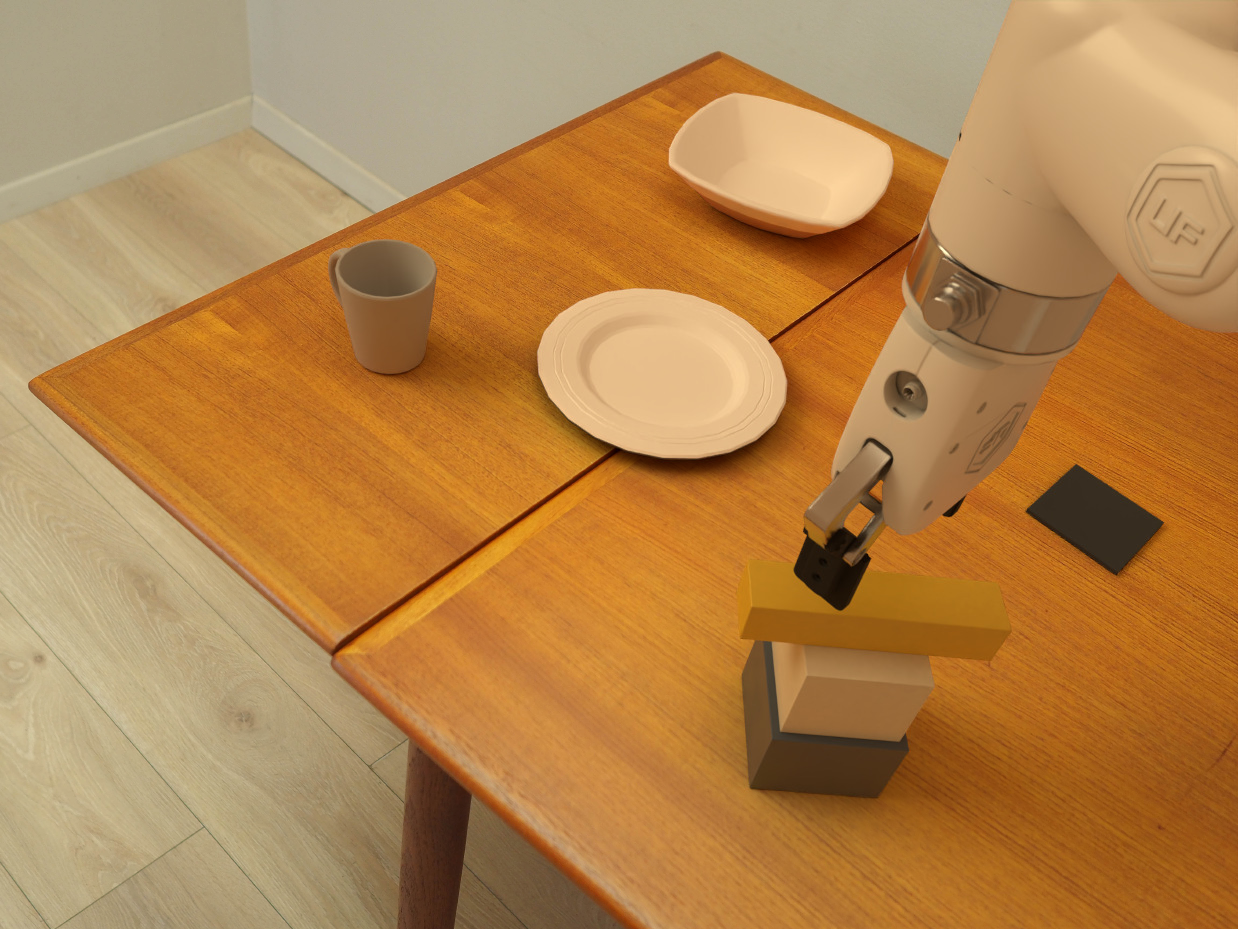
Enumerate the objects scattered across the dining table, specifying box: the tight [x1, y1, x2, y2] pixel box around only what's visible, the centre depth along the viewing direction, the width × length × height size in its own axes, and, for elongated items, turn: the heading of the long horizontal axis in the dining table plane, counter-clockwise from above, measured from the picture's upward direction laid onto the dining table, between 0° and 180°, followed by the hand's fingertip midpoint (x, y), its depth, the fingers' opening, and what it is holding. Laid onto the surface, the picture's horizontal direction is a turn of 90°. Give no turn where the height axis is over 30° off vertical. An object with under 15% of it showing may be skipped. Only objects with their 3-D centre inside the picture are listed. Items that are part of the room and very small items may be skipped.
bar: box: [735, 558, 1013, 662], centre depth 57 cm, size 14×3×3 cm, turn 89°
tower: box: [741, 640, 936, 799], centre depth 62 cm, size 8×8×12 cm
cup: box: [327, 238, 438, 375], centre depth 83 cm, size 8×10×8 cm
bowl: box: [668, 92, 895, 239], centre depth 108 cm, size 22×22×5 cm
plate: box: [536, 287, 788, 461], centre depth 87 cm, size 21×21×2 cm
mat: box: [1025, 463, 1165, 576], centre depth 83 cm, size 8×8×1 cm
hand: (876, 543), depth 55 cm, fingers open, 9 cm apart
